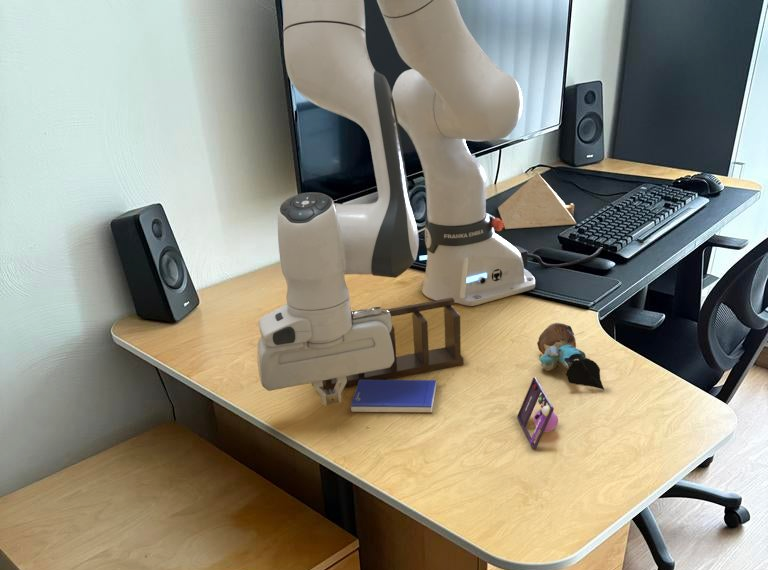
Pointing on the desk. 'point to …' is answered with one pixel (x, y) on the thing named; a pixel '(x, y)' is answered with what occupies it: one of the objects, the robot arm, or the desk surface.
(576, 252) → the desk surface
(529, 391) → the purple toy package
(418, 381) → the hard drive
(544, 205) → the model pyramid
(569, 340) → the figurine
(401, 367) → the letter rack
